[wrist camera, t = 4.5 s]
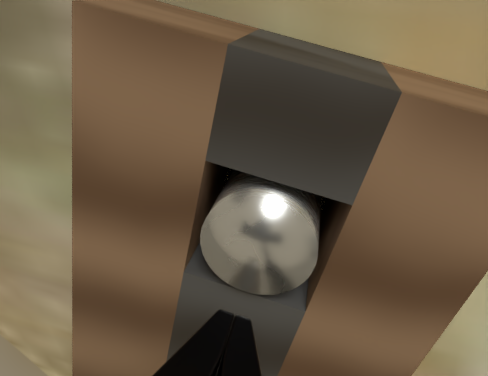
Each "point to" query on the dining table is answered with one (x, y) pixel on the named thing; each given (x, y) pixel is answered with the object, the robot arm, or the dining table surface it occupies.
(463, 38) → the dining table surface
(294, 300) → the walnut block
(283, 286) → the peg
